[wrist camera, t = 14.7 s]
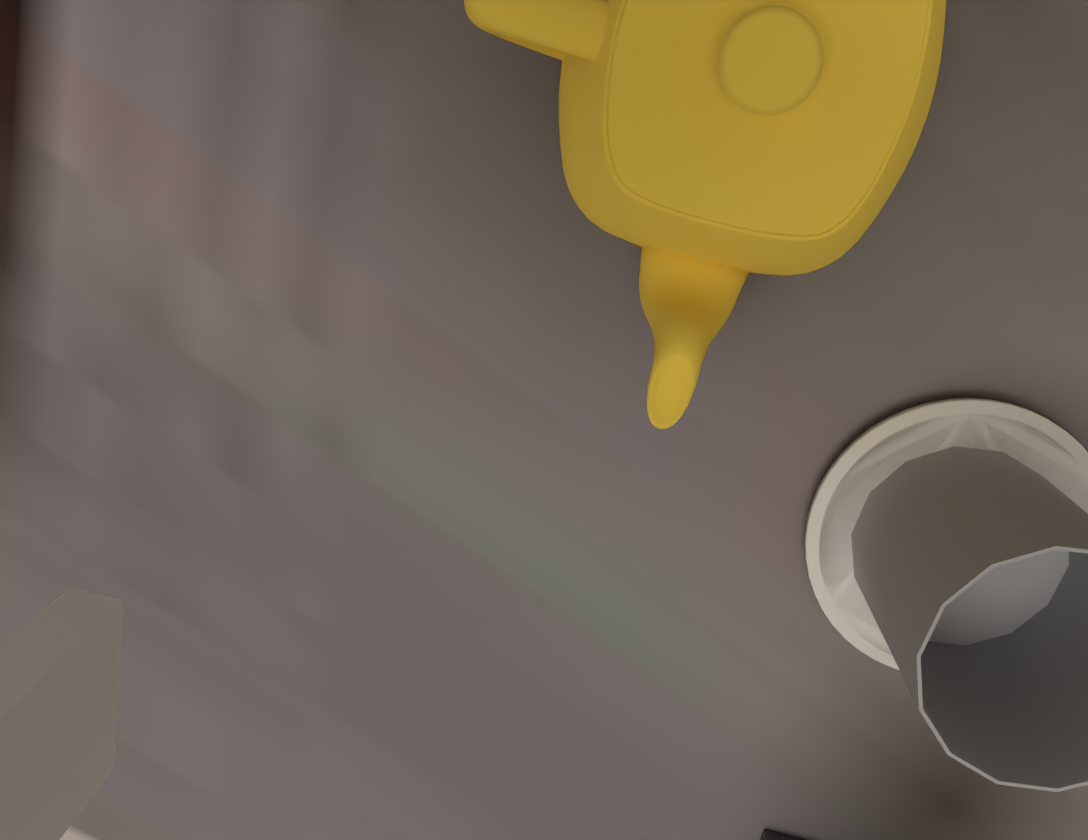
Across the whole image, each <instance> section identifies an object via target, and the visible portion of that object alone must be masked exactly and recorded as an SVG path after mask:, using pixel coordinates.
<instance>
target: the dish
mask: <svg viewBox="0 0 1088 840" xmlns="http://www.w3.org/2000/svg"><path fill="white" fill-rule="evenodd" d="M954 446H955V447H965V448H974V449H983V450H992V451H1002V452H1004V453H1006V454H1008V455H1009V456H1011V457H1013V458H1014V459H1016V460H1017V461H1019V462H1021V463H1022V464H1024V465H1026V466H1027V467H1029V468H1030V469H1032V470H1034V471H1035V472H1037V473H1039V474H1040V475H1042V476H1043V477H1044V478H1046V479H1047V480H1048V481H1049V482H1050V483H1052V484H1053V485H1054V486H1055V487H1056V488H1058V489H1059V490H1060V491H1061V492H1062V493H1064V494H1065V495H1066V496H1067V497H1068V498H1070V499H1071V500H1072V501H1073V502H1074V503H1076V504H1077V505H1078V506H1079V507H1080V508H1081V509H1083V510H1084V511H1085V512H1086V513H1087V514H1088V452H1087V451H1086V450H1085V449H1084V447H1083V446H1082V445H1081V444H1080V443H1079V442H1078V441H1077V440H1075V439H1074V438H1073V437H1072V436H1071V435H1070V434H1069V433H1068V432H1066V431H1065V430H1063V429H1062V428H1060V427H1059V426H1057V425H1056V424H1054V423H1053V422H1051V421H1050V420H1048V419H1047V418H1045V417H1043V416H1041V415H1039V414H1037V413H1035V412H1033V411H1031V410H1029V409H1026V408H1023V407H1020V406H1017V405H1014V404H1011V403H1007V402H1002V401H996V400H991V399H980V398H956V399H945V400H939V401H934V402H928V403H924V404H921V405H918V406H915V407H911V408H908V409H905V410H903V411H901V412H899V413H896V414H894V415H892V416H890V417H888V418H886V419H884V420H883V421H881V422H879V423H877V424H876V425H874V426H872V427H871V428H869V429H868V430H867V431H865V432H864V433H863V434H862V435H860V436H859V437H858V438H856V439H855V440H854V441H853V442H852V443H851V444H850V445H849V446H848V447H847V448H846V449H845V450H844V451H843V452H842V453H841V454H840V455H839V456H838V458H837V459H836V460H835V461H834V463H833V464H832V465H831V467H830V468H829V469H828V471H827V472H826V474H825V476H824V477H823V479H822V481H821V483H820V484H819V486H818V488H817V491H816V493H815V495H814V498H813V500H812V503H811V506H810V510H809V513H808V517H807V521H806V530H805V538H804V542H805V560H806V566H807V572H808V576H809V579H810V582H811V585H812V588H813V591H814V593H815V596H816V598H817V600H818V602H819V604H820V606H821V608H822V610H823V612H824V613H825V615H826V616H827V617H828V619H829V620H830V622H831V623H832V625H833V626H834V627H835V628H836V629H837V630H838V631H839V632H840V634H841V635H842V636H843V637H844V638H845V639H846V640H848V641H849V642H850V643H851V644H852V645H853V646H855V647H856V648H857V649H858V650H860V651H861V652H863V653H865V654H866V655H868V656H869V657H871V658H872V659H874V660H876V661H878V662H881V663H883V664H885V665H887V666H889V667H892V668H895V669H898V670H899V668H898V666H897V664H896V662H895V660H894V658H893V656H892V654H891V651H890V649H889V647H888V645H887V643H886V641H885V639H884V637H883V635H882V633H881V631H880V629H879V627H878V625H877V623H876V621H875V619H874V617H873V614H872V612H871V610H870V608H869V606H868V604H867V602H866V600H865V598H864V596H863V594H862V592H861V590H860V588H859V586H858V584H857V582H856V580H855V577H854V570H853V554H852V538H851V533H852V531H853V529H854V527H855V524H856V522H857V520H858V518H859V515H860V513H861V511H862V509H863V506H864V504H865V502H866V500H867V497H868V495H869V493H870V492H871V491H872V490H873V489H875V488H876V487H877V486H878V485H879V484H880V483H881V482H883V481H884V480H885V479H886V478H887V477H888V476H890V475H891V474H892V473H893V472H894V471H895V470H897V469H898V468H899V467H900V466H901V465H902V464H904V463H905V462H906V461H909V460H912V459H915V458H918V457H921V456H925V455H928V454H931V453H934V452H937V451H941V450H944V449H947V448H950V447H954Z"/></svg>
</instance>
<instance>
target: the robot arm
mask: <svg viewBox="0 0 1088 840" xmlns="http://www.w3.org/2000/svg"><path fill="white" fill-rule="evenodd" d="M123 611H124V600H122V599H117V598H113V597H108V596H103V595H99V594H94V593H89V592H85V591H80V590H76V589H71V588H68V589H67V590H66V591H65V592H63V593H62V594H61V595H60V596H59V597H58V598H56V599H55V600H54V601H53V602H52V603H50V604H49V605H48V606H47V607H46V608H45V609H43V610H42V611H41V612H40V613H39V614H38V615H36V616H35V617H34V618H33V619H32V620H30V621H29V622H28V623H27V624H26V625H25V626H23V627H22V628H21V629H20V630H19V631H17V632H16V633H15V634H14V635H13V636H12V637H10V638H9V639H8V640H7V641H6V642H5V643H3V644H2V645H1V646H0V840H59V839H60V838H61V836H62V835H63V834H64V833H65V831H66V830H67V829H68V828H69V827H70V825H71V824H72V823H73V821H74V820H75V819H76V818H77V816H78V815H79V814H80V813H81V811H82V810H83V809H84V808H85V806H86V805H87V804H88V802H89V801H90V800H91V799H92V797H93V796H94V795H95V794H96V792H97V791H98V790H99V789H100V787H101V786H102V785H103V783H104V782H105V781H106V780H107V778H108V777H109V776H110V775H111V773H112V772H113V771H114V766H115V749H116V732H117V715H118V697H119V680H120V663H121V646H122V628H123Z"/></svg>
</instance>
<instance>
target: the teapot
mask: <svg viewBox="0 0 1088 840" xmlns="http://www.w3.org/2000/svg"><path fill="white" fill-rule="evenodd" d="M464 5H465V11H466V13H467V15H468V18H469V19H470V20H471V21H472V23H473V24H474V25H476V26H477V27H479V28H480V29H482V30H484V31H486V32H488V33H490V34H493V35H495V36H497V37H500V38H502V39H505V40H507V41H510V42H513V43H515V44H518V45H521V46H523V47H526V48H529V49H531V50H534V51H537V52H540V53H542V54H545V55H548V56H551V57H553V58H556V59H559V60H562V65H561V76H560V86H559V132H560V148H561V156H562V164H563V172H564V175H565V179H566V182H567V185H568V188H569V192H570V194H571V195H572V197H573V199H574V201H575V202H576V204H577V206H578V208H579V209H580V210H581V211H582V212H583V213H584V214H585V216H586V217H587V218H588V219H589V220H590V221H591V222H593V223H594V224H596V225H597V226H598V227H600V228H601V229H603V230H604V231H605V232H607V233H610V234H612V235H614V236H617V237H619V238H621V239H624V240H626V241H628V242H631V243H633V244H636V245H638V246H641V247H642V251H641V264H640V275H639V296H640V301H641V305H642V308H643V310H644V313H645V316H646V318H647V320H648V322H649V325H650V327H651V329H652V332H653V336H654V343H655V349H654V360H653V365H652V369H651V374H650V379H649V383H648V391H647V412H648V415H649V419H650V421H651V422H652V424H653V425H654V426H655V427H657V428H659V429H667V428H669V427H671V426H672V425H674V424H675V423H676V422H677V421H678V420H679V419H680V417H681V416H682V414H683V413H684V412H685V410H686V408H687V406H688V404H689V402H690V400H691V398H692V395H693V392H694V390H695V387H696V384H697V380H698V376H699V372H700V369H701V365H702V362H703V359H704V356H705V353H706V351H707V349H708V347H709V345H710V343H711V342H712V340H713V339H714V337H715V336H716V335H717V334H718V332H719V331H720V330H721V328H722V327H723V326H724V324H725V323H726V321H727V319H728V318H729V316H730V314H731V312H732V310H733V308H734V305H735V303H736V300H737V298H738V295H739V293H740V291H741V289H742V287H743V284H744V282H745V280H746V278H747V276H748V274H749V273H759V274H771V275H783V276H788V275H796V274H803V273H808V272H811V271H814V270H817V269H820V268H822V267H825V266H827V265H829V264H830V263H832V262H834V261H835V260H837V259H838V258H840V257H842V256H843V255H844V254H845V253H846V252H847V251H848V250H849V249H850V248H851V247H852V246H853V245H854V244H856V243H857V242H858V241H859V239H860V238H861V237H862V235H863V234H864V233H865V231H866V230H867V229H868V228H869V226H870V225H871V224H872V222H873V221H874V220H875V218H876V217H877V215H878V214H879V212H880V210H881V209H882V207H883V206H884V204H885V203H886V201H887V199H888V198H889V196H890V195H891V193H892V191H893V190H894V188H895V186H896V184H897V183H898V181H899V179H900V178H901V176H902V174H903V172H904V171H905V168H906V166H907V164H908V162H909V160H910V158H911V156H912V154H913V152H914V150H915V147H916V145H917V143H918V140H919V137H920V135H921V132H922V129H923V127H924V124H925V121H926V119H927V115H928V112H929V108H930V105H931V101H932V98H933V94H934V91H935V87H936V82H937V77H938V72H939V67H940V61H941V53H942V45H943V36H944V25H945V12H946V0H464Z"/></svg>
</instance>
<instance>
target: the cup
mask: <svg viewBox="0 0 1088 840" xmlns="http://www.w3.org/2000/svg"><path fill="white" fill-rule="evenodd" d="M851 538H852V554H853V570H854V577H855V580H856V582H857V584H858V586H859V588H860V590H861V592H862V594H863V596H864V598H865V600H866V602H867V604H868V606H869V608H870V610H871V612H872V614H873V617H874V619H875V621H876V623H877V625H878V627H879V629H880V631H881V633H882V635H883V637H884V639H885V641H886V643H887V645H888V647H889V649H890V651H891V654H892V656H893V658H894V660H895V662H896V664H897V666H898V668H899V670H900V672H901V674H902V676H903V678H904V680H905V682H906V684H907V686H908V688H909V690H910V693H911V695H912V697H913V699H914V701H915V703H916V705H917V707H918V709H919V711H920V712H921V714H922V715H923V717H924V719H925V720H926V722H927V723H928V725H929V727H930V728H931V730H932V731H933V733H934V734H935V736H936V738H937V739H938V741H939V742H940V744H941V745H942V747H943V749H944V750H945V752H946V753H947V755H948V756H950V757H952V758H953V759H955V760H957V761H958V762H960V763H962V764H963V765H965V766H967V767H969V768H970V769H972V770H974V771H975V772H977V773H979V774H980V775H982V776H984V777H985V778H987V779H989V780H991V781H992V782H994V783H996V784H999V785H1007V786H1014V787H1022V788H1030V789H1037V790H1045V791H1053V792H1060V791H1064V790H1068V789H1072V788H1076V787H1080V786H1084V785H1088V514H1087V513H1086V512H1085V511H1084V510H1083V509H1081V508H1080V507H1079V506H1078V505H1077V504H1076V503H1074V502H1073V501H1072V500H1071V499H1070V498H1068V497H1067V496H1066V495H1065V494H1064V493H1062V492H1061V491H1060V490H1059V489H1058V488H1056V487H1055V486H1054V485H1053V484H1052V483H1050V482H1049V481H1048V480H1047V479H1046V478H1044V477H1043V476H1042V475H1040V474H1039V473H1037V472H1035V471H1034V470H1032V469H1030V468H1029V467H1027V466H1026V465H1024V464H1022V463H1021V462H1019V461H1017V460H1016V459H1014V458H1013V457H1011V456H1009V455H1008V454H1006V453H1004V452H1002V451H992V450H983V449H974V448H965V447H955V446H954V447H950V448H947V449H944V450H941V451H937V452H934V453H931V454H928V455H925V456H921V457H918V458H915V459H912V460H909V461H906V462H905V463H904V464H902V465H901V466H900V467H899V468H898V469H897V470H895V471H894V472H893V473H892V474H891V475H890V476H888V477H887V478H886V479H885V480H884V481H883V482H881V483H880V484H879V485H878V486H877V487H876V488H875V489H873V490H872V491H871V492H870V493H869V495H868V497H867V500H866V502H865V504H864V506H863V509H862V511H861V513H860V515H859V518H858V520H857V522H856V524H855V527H854V529H853V531H852V533H851Z"/></svg>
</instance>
